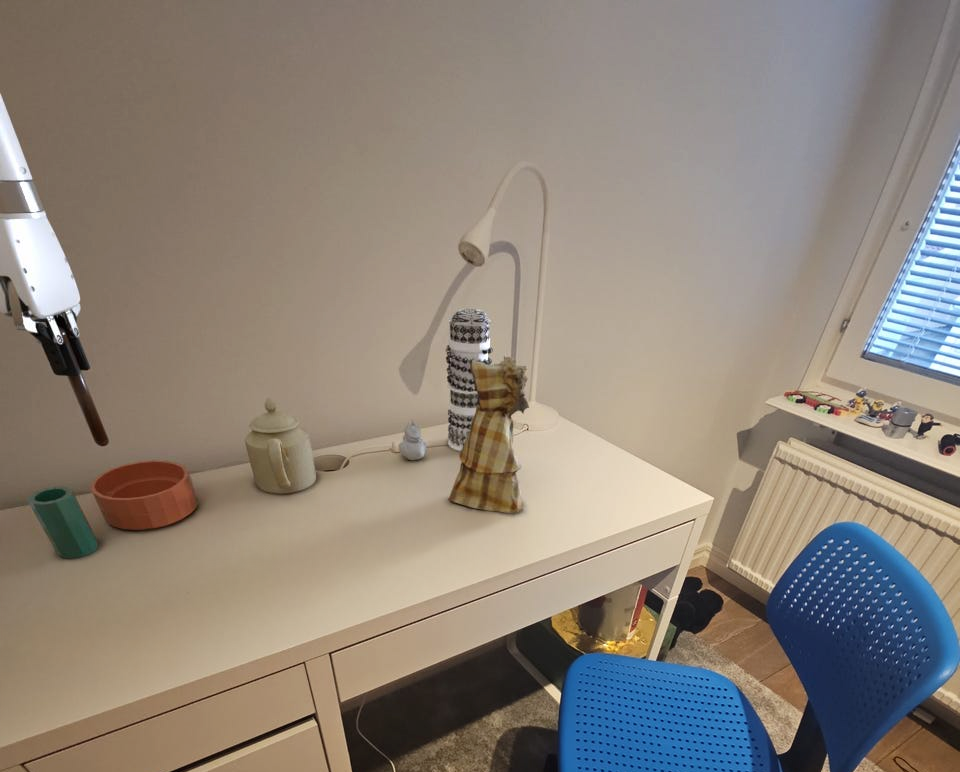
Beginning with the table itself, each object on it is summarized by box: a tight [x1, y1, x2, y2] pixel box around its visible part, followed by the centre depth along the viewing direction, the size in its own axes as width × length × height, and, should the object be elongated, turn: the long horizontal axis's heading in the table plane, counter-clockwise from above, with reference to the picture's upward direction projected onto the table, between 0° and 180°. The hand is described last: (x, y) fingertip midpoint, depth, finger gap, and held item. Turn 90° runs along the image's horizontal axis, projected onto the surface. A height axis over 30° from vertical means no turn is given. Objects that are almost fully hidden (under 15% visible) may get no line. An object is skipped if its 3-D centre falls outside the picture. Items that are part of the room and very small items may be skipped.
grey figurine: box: [398, 419, 427, 461], centre depth 111 cm, size 5×7×8 cm
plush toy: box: [447, 355, 530, 514], centre depth 94 cm, size 14×14×25 cm
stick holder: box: [27, 486, 99, 560], centre depth 82 cm, size 5×5×9 cm
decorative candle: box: [445, 308, 494, 452], centre depth 112 cm, size 9×9×25 cm
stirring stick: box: [57, 326, 110, 447], centre depth 77 cm, size 2×2×16 cm
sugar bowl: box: [244, 397, 317, 495], centre depth 98 cm, size 15×11×15 cm
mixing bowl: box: [89, 459, 199, 531], centre depth 92 cm, size 14×14×6 cm
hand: (72, 371), depth 76 cm, fingers closed on stirring stick, 1 cm apart
